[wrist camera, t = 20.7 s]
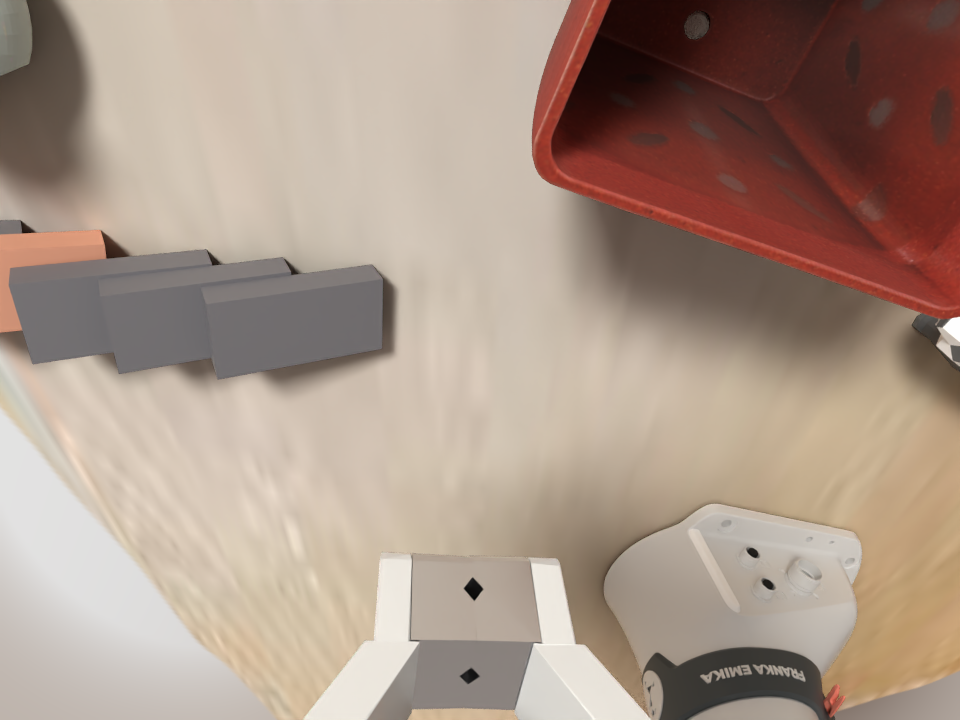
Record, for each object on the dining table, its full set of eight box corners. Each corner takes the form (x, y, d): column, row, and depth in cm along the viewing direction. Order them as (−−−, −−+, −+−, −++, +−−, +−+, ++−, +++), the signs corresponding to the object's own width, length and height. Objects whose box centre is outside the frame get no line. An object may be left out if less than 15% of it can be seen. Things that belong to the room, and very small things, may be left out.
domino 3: (291, 271, 40) (99, 296, 36) (296, 343, 43) (119, 373, 39) (282, 257, 42) (97, 279, 37) (288, 327, 44) (116, 355, 40)
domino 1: (104, 244, 39) (-125, 256, 34) (114, 320, 41) (-97, 342, 36) (100, 230, 40) (-121, 239, 35) (109, 304, 43) (-95, 323, 38)
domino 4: (383, 279, 41) (206, 304, 37) (382, 348, 44) (217, 379, 40) (371, 264, 42) (200, 287, 38) (371, 333, 45) (211, 361, 41)
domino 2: (212, 263, 40) (8, 284, 36) (220, 336, 43) (32, 364, 38) (206, 249, 41) (10, 267, 37) (215, 320, 44) (33, 345, 40)
